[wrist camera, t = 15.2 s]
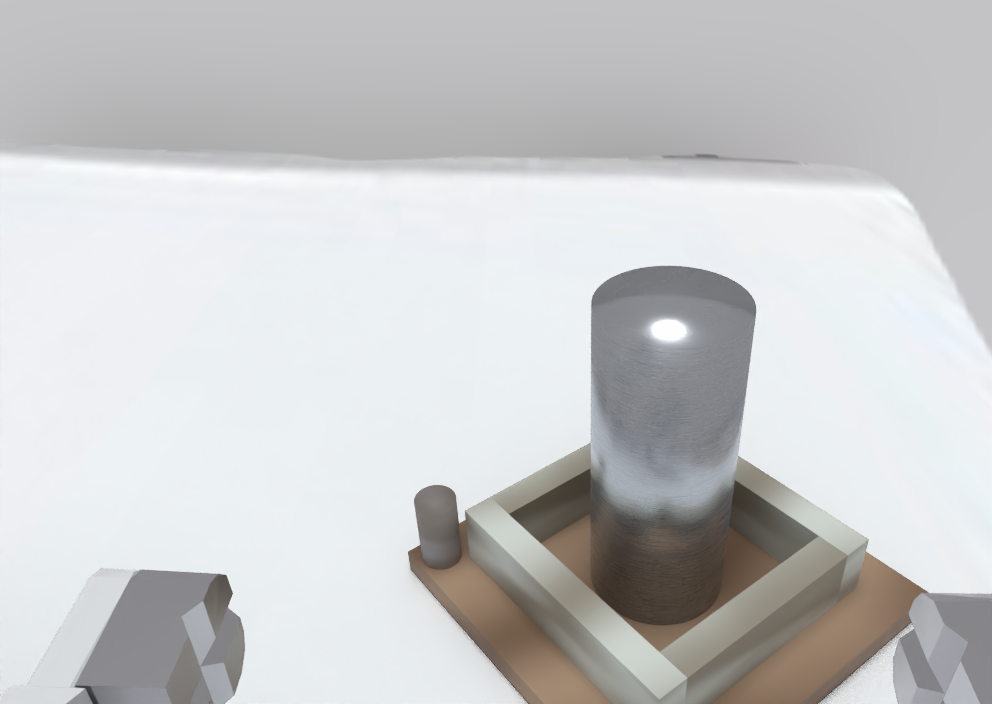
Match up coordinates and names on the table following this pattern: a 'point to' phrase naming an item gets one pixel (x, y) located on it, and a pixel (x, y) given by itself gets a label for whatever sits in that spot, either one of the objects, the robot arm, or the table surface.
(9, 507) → the table surface
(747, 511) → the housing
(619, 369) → the pin
